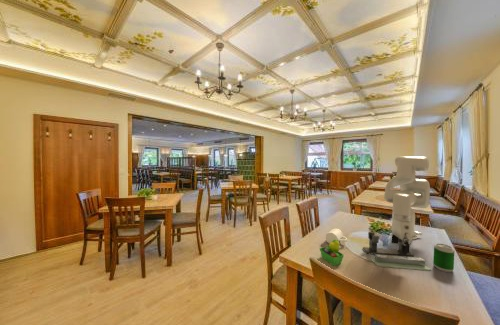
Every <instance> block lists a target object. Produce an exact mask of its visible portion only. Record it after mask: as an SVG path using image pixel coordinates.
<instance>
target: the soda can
mask: <svg viewBox="0 0 500 325" xmlns="http://www.w3.org/2000/svg"><path fill="white" fill-rule="evenodd" d="M432 264H433V266H434V268H436V269H438V270H440V271H442V272H446V273H451V272H453V271H454V269H455V268H454V266H455V265H454V264H455V250H454V248H453V247H452V246H451V245H448V244H444V243H436V244H434V245H433V263H432Z"/></svg>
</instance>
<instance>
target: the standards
mask: <svg viewBox="0 0 500 325" xmlns="http://www.w3.org/2000/svg"><path fill="white" fill-rule="evenodd" d="M367 237H368V239H369V246H368V247H367V246H366V247H365V246H363V247H362V250H363V249H364V250H365V251H364V250H363V251H364V252H365V253H366V254H367V255H375V254H378V255H391V256H405V257H415V255H414V254H413V253H412V252H411V251H409V253H403V252H402V245H403V242H402V240H401V239H399V238H398V244H397V245H398V247H397V249H395V248H380V247H379V248H378V244H379V243H380V241H379V240H380V238H379V237H380V236H379V235H376V234H375V232H373V231H368V236H367ZM403 239H406V238H403ZM405 242H407V241H405Z"/></svg>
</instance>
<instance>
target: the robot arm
mask: <svg viewBox="0 0 500 325" xmlns="http://www.w3.org/2000/svg"><path fill="white" fill-rule="evenodd" d="M394 164H395V166H396V167H397V168H396V175H395V176H394V177H392V178H391V179H389V180H388V182H387V183H386V185H385V189H384V194H383V196H384V200H385V202H387V203H389V204H391V203H392V213H391V214H392V216H391V217H392V222H391V226H390V232H391V234H390V235H391V244H397V245H398V238H399V239H401V240H402V242H403V245H402V252H403V253H409V252H410V248H411V245H412V243H413V241H414V240H417V239H418V236H423V233H422V232H419V231H417V230H415V227H416V226H415V223H416V222H415V221H416V214H415V211H414V210H413V208H418V209H427V208H429V205H430V197H431V196H430V194H431V193H430V191H431V188H430V187H431V186H430V182H429V181H428V180H427V179H424V178H420V179H419V178H416V175H417V173H416V172H427V171H428V170H429V168H430V160H429V158H428V157H427V156H410V155H409V156H406V155H405V156H397V157H395V159H394ZM395 187H400V189H399V190H397V189H393V188H395ZM403 238H406V239H403ZM405 241H407V242H405Z"/></svg>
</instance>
